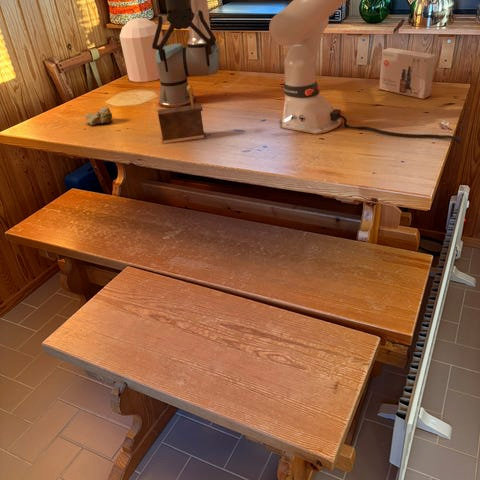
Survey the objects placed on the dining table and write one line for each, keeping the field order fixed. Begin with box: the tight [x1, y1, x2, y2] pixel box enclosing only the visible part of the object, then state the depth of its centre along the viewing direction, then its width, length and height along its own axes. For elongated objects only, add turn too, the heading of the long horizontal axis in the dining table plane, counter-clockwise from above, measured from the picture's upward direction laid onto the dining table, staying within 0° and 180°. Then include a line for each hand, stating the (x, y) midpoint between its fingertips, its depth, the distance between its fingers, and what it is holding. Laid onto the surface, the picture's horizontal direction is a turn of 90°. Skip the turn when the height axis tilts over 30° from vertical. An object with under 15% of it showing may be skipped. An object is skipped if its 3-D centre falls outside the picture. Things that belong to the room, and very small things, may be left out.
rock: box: [85, 105, 113, 126], centre depth 189 cm, size 11×6×10 cm
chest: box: [158, 111, 205, 144], centre depth 166 cm, size 15×5×10 cm, turn 99°
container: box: [119, 17, 163, 83], centre depth 235 cm, size 21×21×28 cm
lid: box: [157, 84, 204, 118], centre depth 161 cm, size 16×5×8 cm, turn 100°
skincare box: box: [378, 47, 437, 100], centre depth 184 cm, size 21×6×16 cm, turn 40°
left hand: (187, 68), depth 151 cm, fingers open, 13 cm apart
